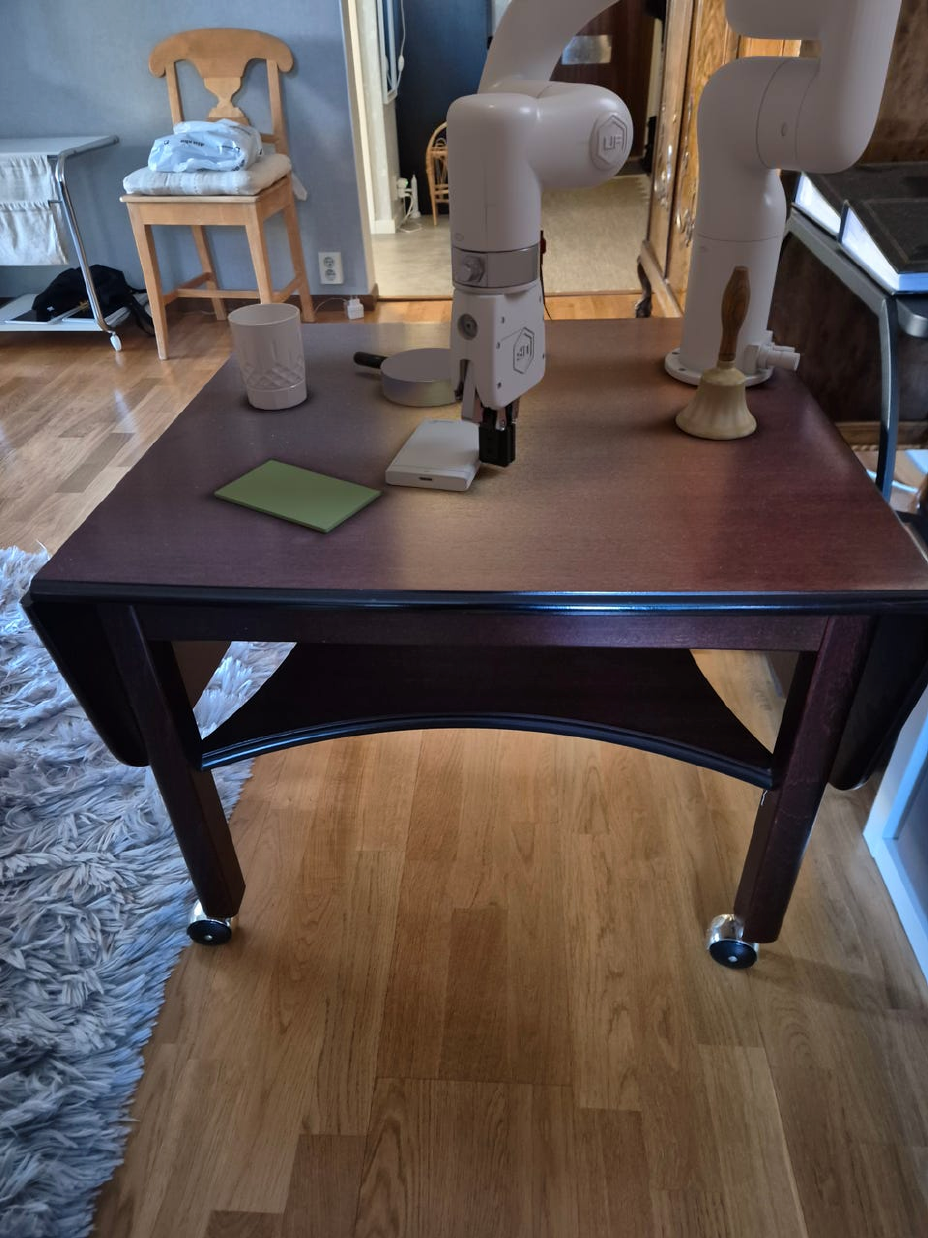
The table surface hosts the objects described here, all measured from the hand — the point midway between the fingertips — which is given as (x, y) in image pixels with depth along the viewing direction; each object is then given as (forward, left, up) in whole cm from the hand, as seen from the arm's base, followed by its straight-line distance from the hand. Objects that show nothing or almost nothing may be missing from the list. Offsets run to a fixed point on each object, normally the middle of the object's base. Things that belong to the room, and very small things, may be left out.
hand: (497, 461), depth 83 cm
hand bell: (-15, -20, -1) cm, 25 cm away
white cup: (+32, -3, -1) cm, 32 cm away
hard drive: (+6, +1, -1) cm, 6 cm away
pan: (+21, -14, -1) cm, 25 cm away
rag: (+14, +14, -1) cm, 20 cm away
